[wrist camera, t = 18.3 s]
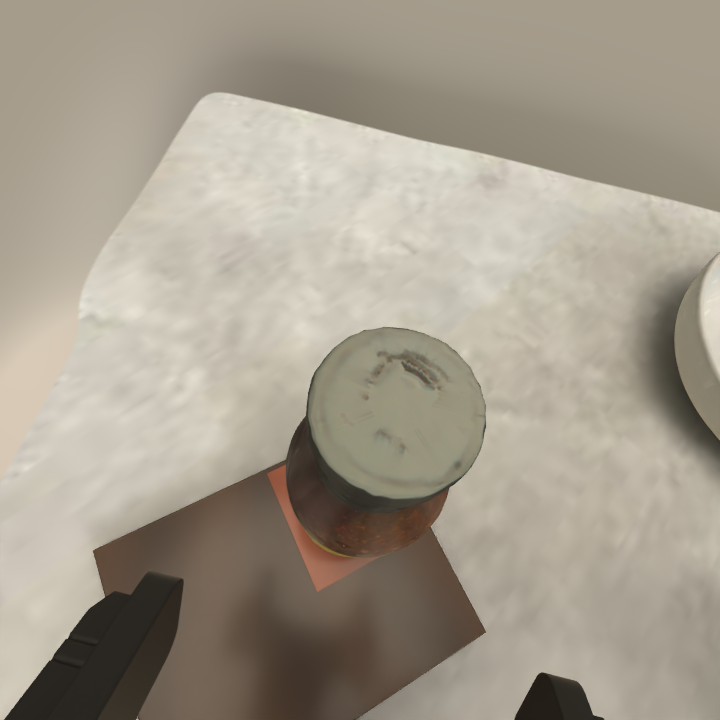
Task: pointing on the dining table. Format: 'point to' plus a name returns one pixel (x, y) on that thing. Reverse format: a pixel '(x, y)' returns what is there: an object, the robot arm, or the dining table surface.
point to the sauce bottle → (383, 441)
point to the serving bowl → (701, 343)
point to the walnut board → (286, 611)
